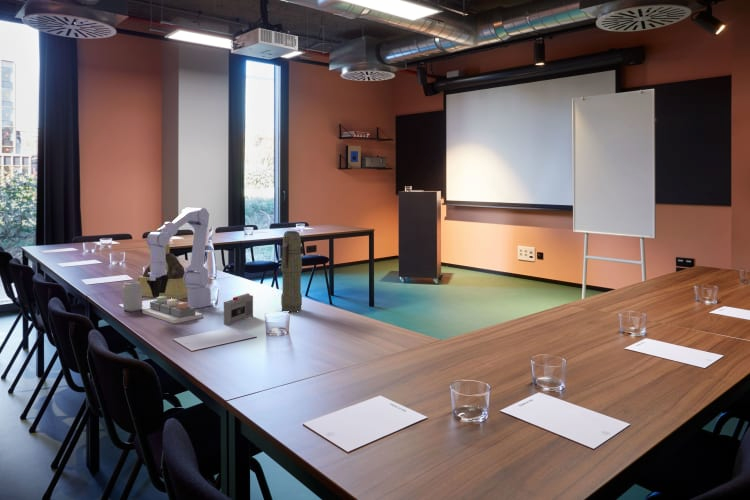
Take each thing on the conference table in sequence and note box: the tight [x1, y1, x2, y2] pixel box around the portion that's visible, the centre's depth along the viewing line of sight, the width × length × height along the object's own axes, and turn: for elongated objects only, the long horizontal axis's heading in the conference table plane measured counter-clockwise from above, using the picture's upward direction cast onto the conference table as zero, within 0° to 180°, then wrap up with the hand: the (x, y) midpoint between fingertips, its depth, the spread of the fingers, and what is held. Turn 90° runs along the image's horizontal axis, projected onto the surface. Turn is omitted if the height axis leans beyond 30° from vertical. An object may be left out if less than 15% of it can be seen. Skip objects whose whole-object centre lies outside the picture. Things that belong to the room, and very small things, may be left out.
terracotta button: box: [177, 301, 188, 310], centre depth 221 cm, size 4×4×3 cm
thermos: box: [280, 230, 303, 313], centre depth 237 cm, size 9×12×35 cm
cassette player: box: [223, 293, 254, 326], centre depth 220 cm, size 16×3×10 cm, turn 157°
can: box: [122, 280, 143, 312], centre depth 234 cm, size 8×8×12 cm
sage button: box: [156, 296, 168, 304], centre depth 231 cm, size 4×4×3 cm
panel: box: [142, 300, 204, 324], centre depth 226 cm, size 13×24×4 cm, turn 51°
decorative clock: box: [137, 242, 188, 301], centre depth 264 cm, size 28×13×30 cm, turn 73°
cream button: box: [167, 299, 178, 307], centre depth 226 cm, size 4×4×3 cm
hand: (159, 294), depth 220 cm, fingers open, 7 cm apart
